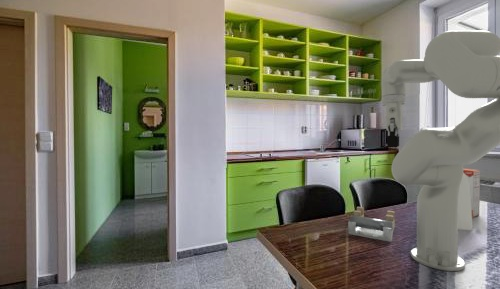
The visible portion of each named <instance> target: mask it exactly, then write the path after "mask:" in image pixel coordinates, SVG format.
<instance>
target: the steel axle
mask: <svg viewBox="0 0 500 289" xmlns="http://www.w3.org/2000/svg"><path fill="white" fill-rule="evenodd" d="M349 221H350V222H356V227H359V228H365V229H371V230H377V231H383V227H387V228H391V230H392V229H393V222H392V221H386V219H380V218H379V219H378V218H373V217H365V216H364V217H359V216H354V214H353V215H352V214H351V215H350V216H349V220H348V222H349Z"/></svg>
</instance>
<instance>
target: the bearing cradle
mask: <svg viewBox="0 0 500 289" xmlns="http://www.w3.org/2000/svg"><path fill="white" fill-rule="evenodd" d="M364 213H365V211H364V206H357V207H356V210H353V216H359V217H365V214H364ZM395 214H396V212H395V211H393V210H387V212H386V214H385V220H386V221H392V222H393V233H394V231H395V226H396V223H395V220H396V219H395V217H396V216H395Z"/></svg>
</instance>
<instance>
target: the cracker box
mask: <svg viewBox="0 0 500 289" xmlns="http://www.w3.org/2000/svg"><path fill="white" fill-rule="evenodd" d="M463 169H464V171H463V173H464V174H465V175H466V177H467V178H468V180H469V183H470V197H471V212H472V218H474V217H477V216H480V207H481V206H480V200H481V199H480V198H481V194H480V192H481V190H480V189H481V188H480V186H481V170H480V169H472V168H463Z"/></svg>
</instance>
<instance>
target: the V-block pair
mask: <svg viewBox="0 0 500 289" xmlns="http://www.w3.org/2000/svg"><path fill="white" fill-rule="evenodd" d="M347 226H348V227H347V228H348V232H347V234H348V235H353V236H357V237H359V236H360V237H362V238H369V239H374V240H380V241H384V242H390V243H392V240H393V236H394V232H393V229H392V230H391V228H387V227H383V231H377V230H371V229H365V228H359V227H356V222H350V221H349V220H348V225H347Z"/></svg>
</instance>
